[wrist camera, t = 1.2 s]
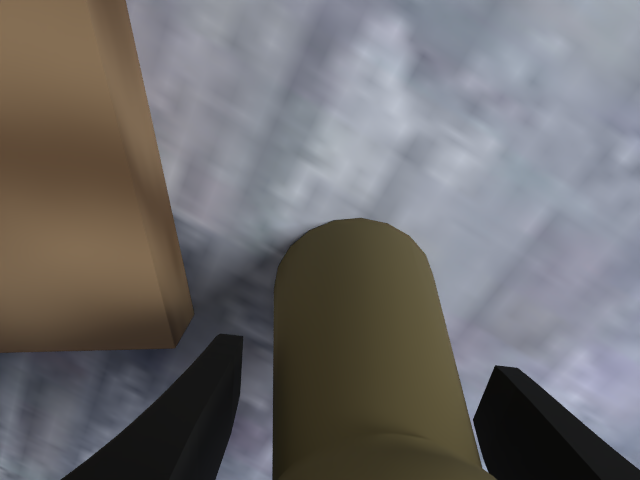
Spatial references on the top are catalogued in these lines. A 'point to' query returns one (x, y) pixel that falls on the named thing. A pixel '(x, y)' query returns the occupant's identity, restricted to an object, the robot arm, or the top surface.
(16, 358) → the top surface
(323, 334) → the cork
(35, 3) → the walnut board
